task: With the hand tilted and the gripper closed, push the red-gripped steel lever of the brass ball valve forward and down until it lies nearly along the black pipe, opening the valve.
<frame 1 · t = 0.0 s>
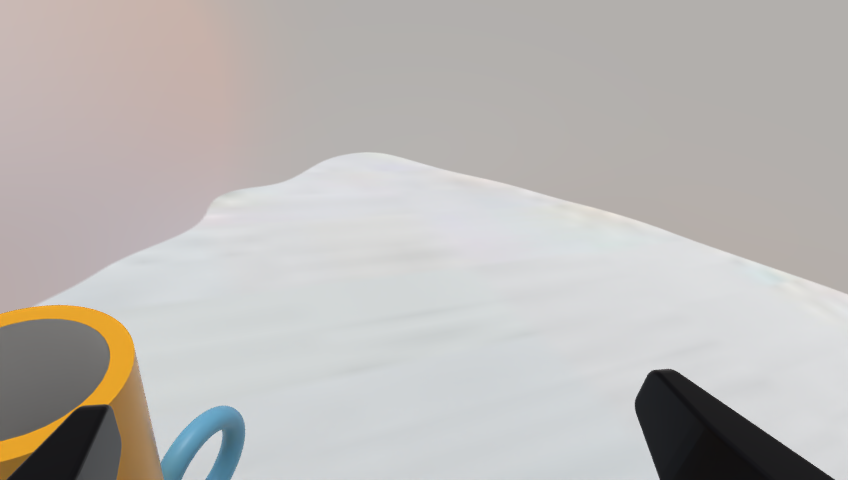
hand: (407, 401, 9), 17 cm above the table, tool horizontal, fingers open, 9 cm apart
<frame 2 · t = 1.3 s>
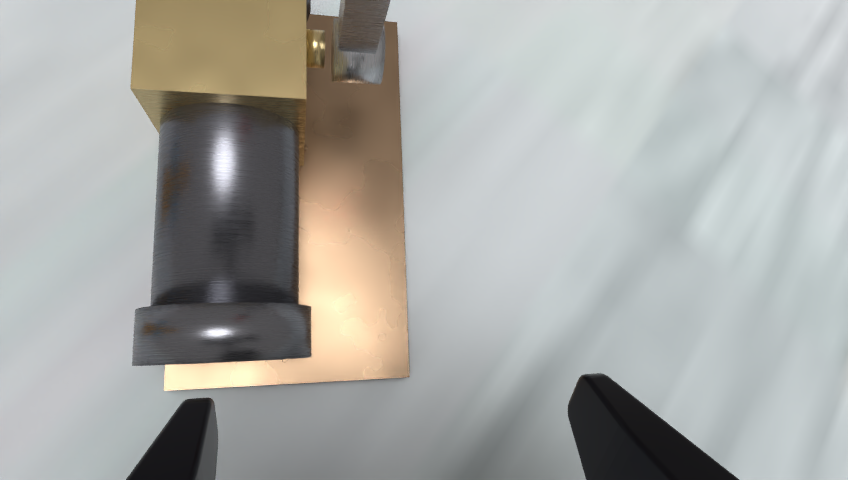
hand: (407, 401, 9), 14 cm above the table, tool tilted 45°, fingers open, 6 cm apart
valve: (245, 117, 23), on the table
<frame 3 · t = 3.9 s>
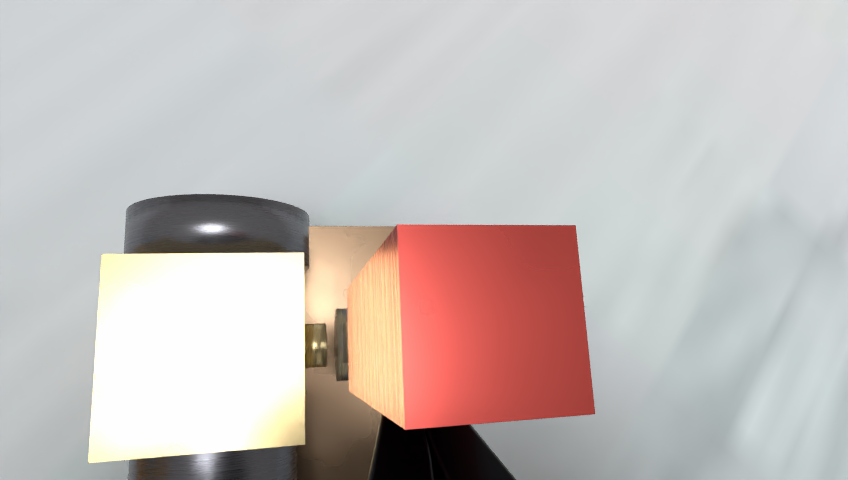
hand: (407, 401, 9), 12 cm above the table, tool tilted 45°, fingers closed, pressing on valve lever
valve: (235, 350, 20), on the table
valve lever: (390, 338, 11), point 11 cm above the table, hinge at 0.5°, touching gripper
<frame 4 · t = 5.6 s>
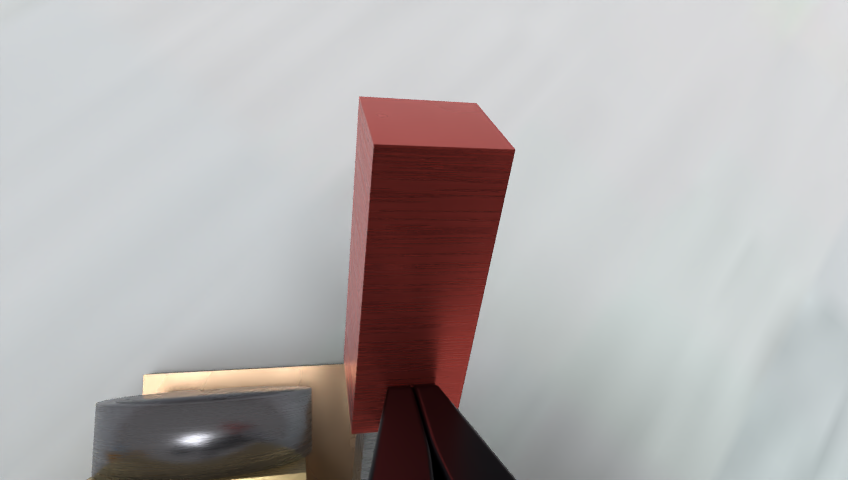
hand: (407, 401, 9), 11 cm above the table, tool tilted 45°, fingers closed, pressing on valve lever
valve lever: (392, 419, 11), point 9 cm above the table, hinge at 46.8°, touching gripper
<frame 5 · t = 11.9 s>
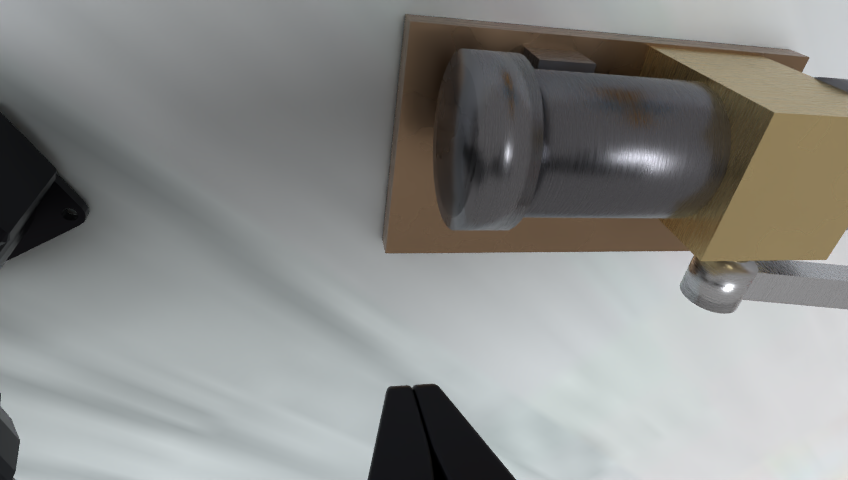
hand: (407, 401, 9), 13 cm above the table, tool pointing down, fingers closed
valve: (667, 104, 22), on the table
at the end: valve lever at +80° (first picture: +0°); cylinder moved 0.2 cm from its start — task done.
